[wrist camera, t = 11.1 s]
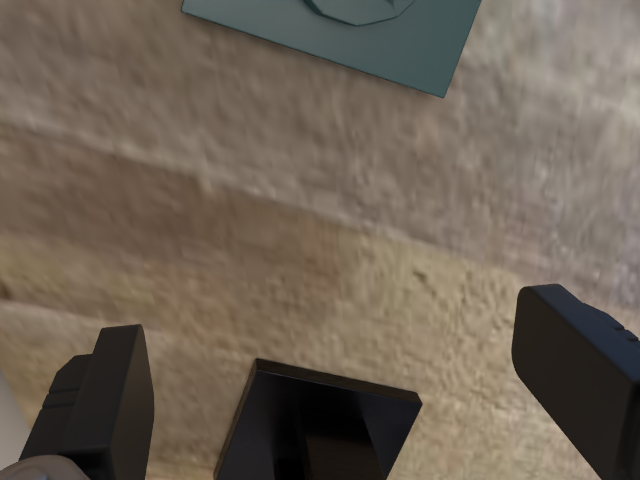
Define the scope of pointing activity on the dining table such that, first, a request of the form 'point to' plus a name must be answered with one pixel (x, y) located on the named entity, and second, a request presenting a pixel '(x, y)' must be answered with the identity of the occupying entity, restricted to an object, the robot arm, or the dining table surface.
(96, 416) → the robot arm
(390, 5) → the control block
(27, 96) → the dining table surface
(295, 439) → the bracket
